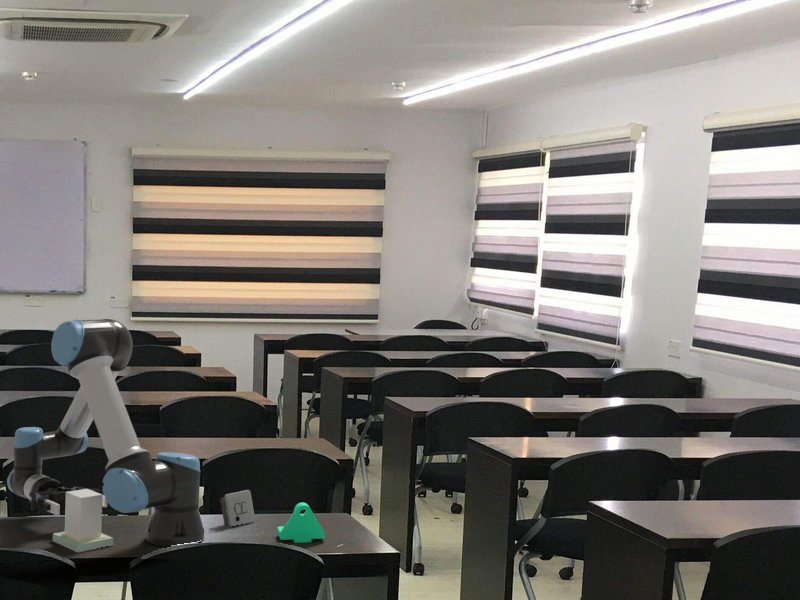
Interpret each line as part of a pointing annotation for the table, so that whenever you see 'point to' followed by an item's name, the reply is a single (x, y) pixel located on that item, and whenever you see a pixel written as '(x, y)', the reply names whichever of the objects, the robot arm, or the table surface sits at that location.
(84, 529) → the block
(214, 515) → the table surface
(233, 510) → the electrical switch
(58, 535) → the board
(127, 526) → the table surface
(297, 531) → the camera mount
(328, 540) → the table surface
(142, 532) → the table surface
